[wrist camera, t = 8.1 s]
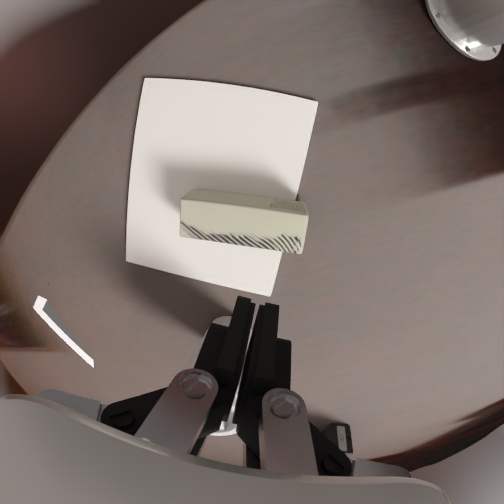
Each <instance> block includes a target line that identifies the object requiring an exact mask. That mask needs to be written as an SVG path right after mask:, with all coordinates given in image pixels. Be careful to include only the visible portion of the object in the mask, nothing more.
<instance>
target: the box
mask: <svg viewBox="0 0 504 504" xmlns="http://www.w3.org/2000/svg"><path fill="white" fill-rule="evenodd" d="M307 225H308V211H307V206H306V204H305V202H299V201H291V200H284V199H277V198H270V197H263V196H255V195H247V194H240V193H231V192H223V191H214V190H205V189H194V190H192V191H190V192H189V193H187V194H186V195H185V196H183V197H182V198H181V200H180V237H184V238H192V239H200V240H207V241H214V242H221V243H227V244H234V245H241V246H248V247H255V248H262V249H269V250H276V251H282V252H290V253H296V254H301V253H302V251H303V245H304V240H305V235H306V230H307Z"/></svg>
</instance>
